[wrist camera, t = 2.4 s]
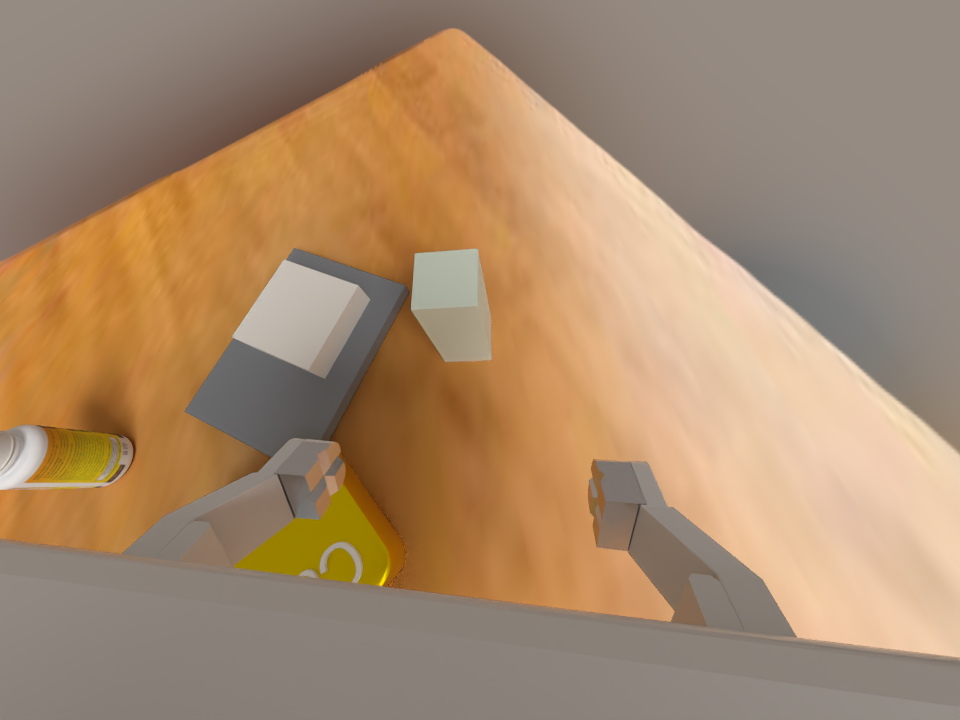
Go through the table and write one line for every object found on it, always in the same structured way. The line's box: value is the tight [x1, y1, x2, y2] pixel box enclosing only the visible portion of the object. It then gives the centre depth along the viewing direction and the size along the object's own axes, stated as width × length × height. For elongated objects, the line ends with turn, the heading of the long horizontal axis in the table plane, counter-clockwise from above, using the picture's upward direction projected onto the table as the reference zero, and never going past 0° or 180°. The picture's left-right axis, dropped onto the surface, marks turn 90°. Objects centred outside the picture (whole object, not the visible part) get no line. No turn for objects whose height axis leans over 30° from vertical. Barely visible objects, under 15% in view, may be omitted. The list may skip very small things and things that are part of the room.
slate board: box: [185, 248, 409, 457], centre depth 37 cm, size 22×16×4 cm
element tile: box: [234, 453, 405, 587], centre depth 30 cm, size 15×15×5 cm
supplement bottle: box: [0, 425, 133, 490], centre depth 33 cm, size 6×6×10 cm
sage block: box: [411, 249, 492, 362], centre depth 31 cm, size 5×5×12 cm
